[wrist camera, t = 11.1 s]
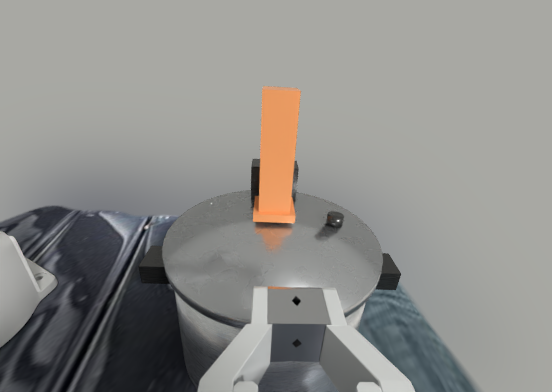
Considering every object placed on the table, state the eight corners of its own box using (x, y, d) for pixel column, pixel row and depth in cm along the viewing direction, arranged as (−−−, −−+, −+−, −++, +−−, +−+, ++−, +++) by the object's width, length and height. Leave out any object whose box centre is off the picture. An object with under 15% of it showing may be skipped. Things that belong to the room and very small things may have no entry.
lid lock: (294, 223, 26) (307, 92, 21) (252, 221, 26) (255, 89, 21) (291, 203, 30) (302, 87, 25) (254, 202, 30) (257, 85, 24)
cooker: (411, 433, 23) (495, 276, 15) (115, 432, 22) (49, 263, 14) (350, 274, 40) (376, 163, 32) (183, 269, 39) (169, 153, 31)
